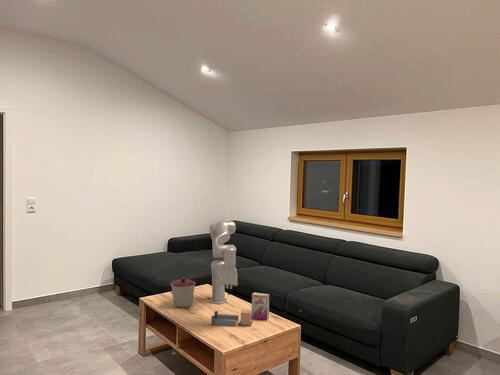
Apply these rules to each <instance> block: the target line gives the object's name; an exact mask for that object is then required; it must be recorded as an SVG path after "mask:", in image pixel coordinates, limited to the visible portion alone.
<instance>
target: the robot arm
mask: <svg viewBox="0 0 500 375" xmlns="http://www.w3.org/2000/svg"><path fill="white" fill-rule="evenodd" d="M236 227H237V226H236V223H235V222H234V221H231V220H230V221H229V220H227V221H225V220H224V221H218V222H217V223H211V224H210V225H209V228H208V230H209V234H210V236H211V241H212V257H213V258H214V259H217V260H213V261H212V262H211V264H210V269H211V276H212V278H211V279H212V280H211V282H212V283H211V284H212V285H211V290H212V291H211V293H212V294H211V298H210V300H209V302H210V303H211V304H214V305H215V304H216V305H222V304H226V303H227V301H228V300H227V298H226V296H225V295H226V293H227V295H228V296H229V295H230V296H231V294H232V293H233V288H235V287H236V286H237V287H238V285H239V283H238V269H237V268H236V264H237V263H236V256H237V254H236V253H237V248H236V246H235V245H234V244H225V243H226V242H228V241H229V240H230V239H231V235H232V234H234V233H235V232H236V229H237V228H236ZM225 289H226V290H225ZM225 292H226V293H225Z"/></svg>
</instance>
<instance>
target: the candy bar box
mask: <svg viewBox="0 0 500 375" xmlns="http://www.w3.org/2000/svg"><path fill="white" fill-rule="evenodd" d="M269 318H270V294H268V293H260V292H253V293H252V294H251V319H256V320H262V321H263V320H264V321H267V320H268V319H269Z"/></svg>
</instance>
